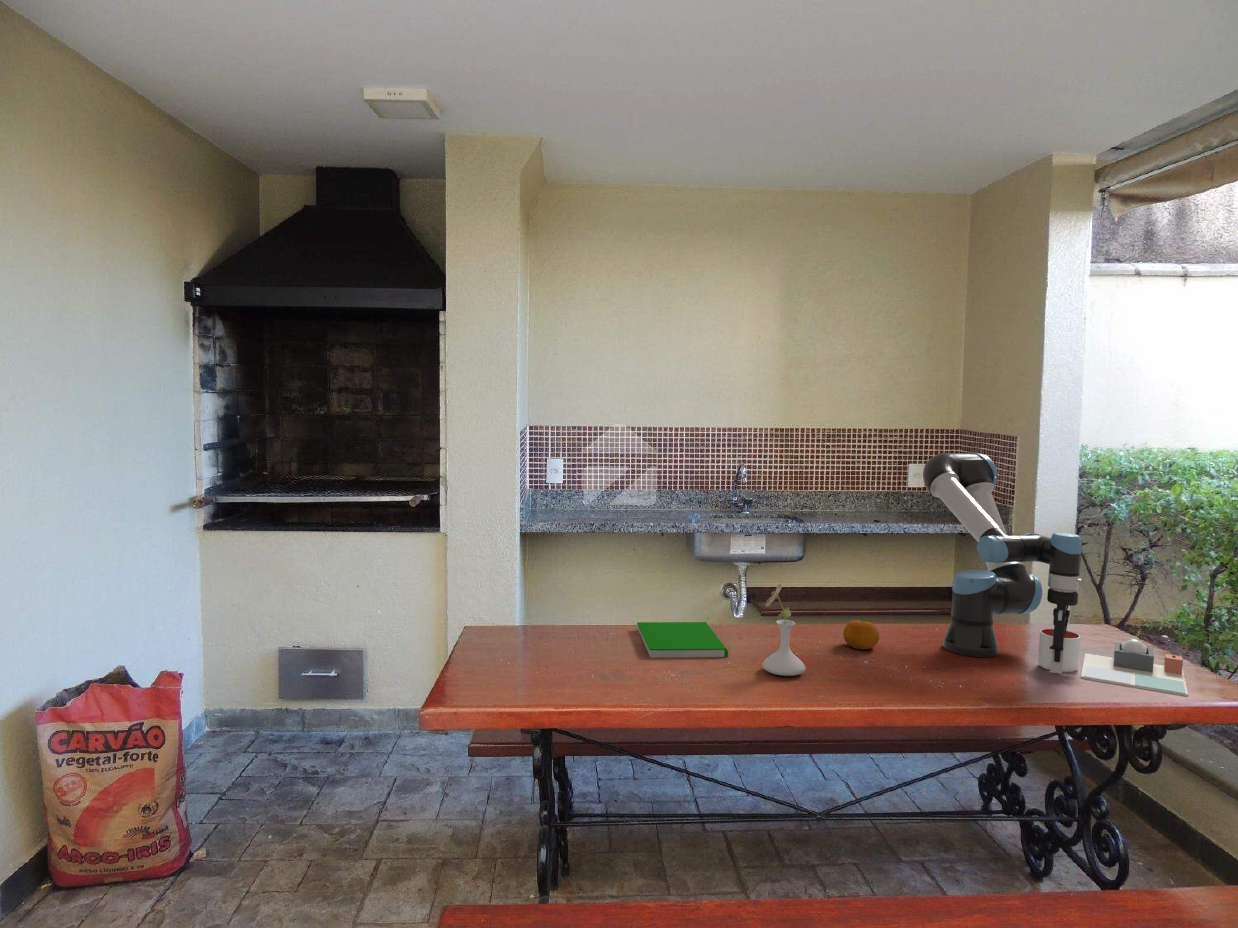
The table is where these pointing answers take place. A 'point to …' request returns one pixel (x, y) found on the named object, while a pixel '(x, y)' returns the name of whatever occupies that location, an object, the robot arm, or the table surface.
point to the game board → (1138, 674)
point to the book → (680, 639)
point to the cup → (1070, 649)
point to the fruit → (861, 634)
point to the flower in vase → (783, 645)
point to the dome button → (1134, 646)
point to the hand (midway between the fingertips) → (1057, 667)
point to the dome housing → (1133, 659)
